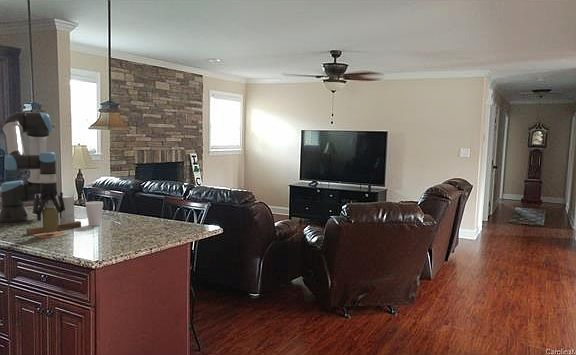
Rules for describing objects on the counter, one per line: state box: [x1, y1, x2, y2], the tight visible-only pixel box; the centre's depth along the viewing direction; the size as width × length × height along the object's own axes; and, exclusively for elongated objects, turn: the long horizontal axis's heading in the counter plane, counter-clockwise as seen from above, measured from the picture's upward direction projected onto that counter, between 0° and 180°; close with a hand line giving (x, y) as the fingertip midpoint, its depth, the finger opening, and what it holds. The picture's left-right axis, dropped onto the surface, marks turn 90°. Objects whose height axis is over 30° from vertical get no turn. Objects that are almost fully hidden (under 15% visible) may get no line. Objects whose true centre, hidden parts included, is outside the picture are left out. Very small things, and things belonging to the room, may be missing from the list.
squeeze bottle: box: [41, 200, 58, 233], centre depth 244 cm, size 8×8×18 cm
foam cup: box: [85, 201, 104, 227], centre depth 272 cm, size 10×9×13 cm
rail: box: [26, 220, 82, 240], centre depth 252 cm, size 16×28×3 cm, turn 142°
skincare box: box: [55, 195, 76, 224], centre depth 276 cm, size 8×7×16 cm
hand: (49, 225), depth 245 cm, fingers open, 8 cm apart
